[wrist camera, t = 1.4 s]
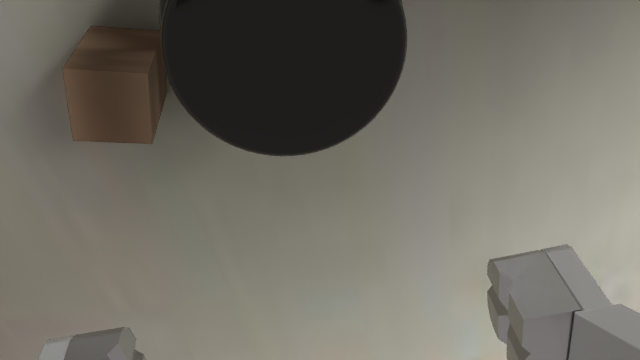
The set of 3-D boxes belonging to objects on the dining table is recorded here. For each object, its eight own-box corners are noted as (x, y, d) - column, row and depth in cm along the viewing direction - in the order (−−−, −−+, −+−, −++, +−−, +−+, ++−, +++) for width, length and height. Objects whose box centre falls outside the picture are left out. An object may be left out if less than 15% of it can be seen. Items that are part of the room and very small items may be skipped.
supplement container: (372, 52, 36) (416, 156, 26) (197, 68, 35) (175, 180, 26) (370, -145, 30) (428, -107, 20) (160, -129, 29) (114, -82, 20)
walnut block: (163, 30, 34) (147, 73, 29) (166, 93, 36) (152, 143, 31) (90, 25, 33) (62, 68, 29) (98, 90, 36) (73, 140, 31)
